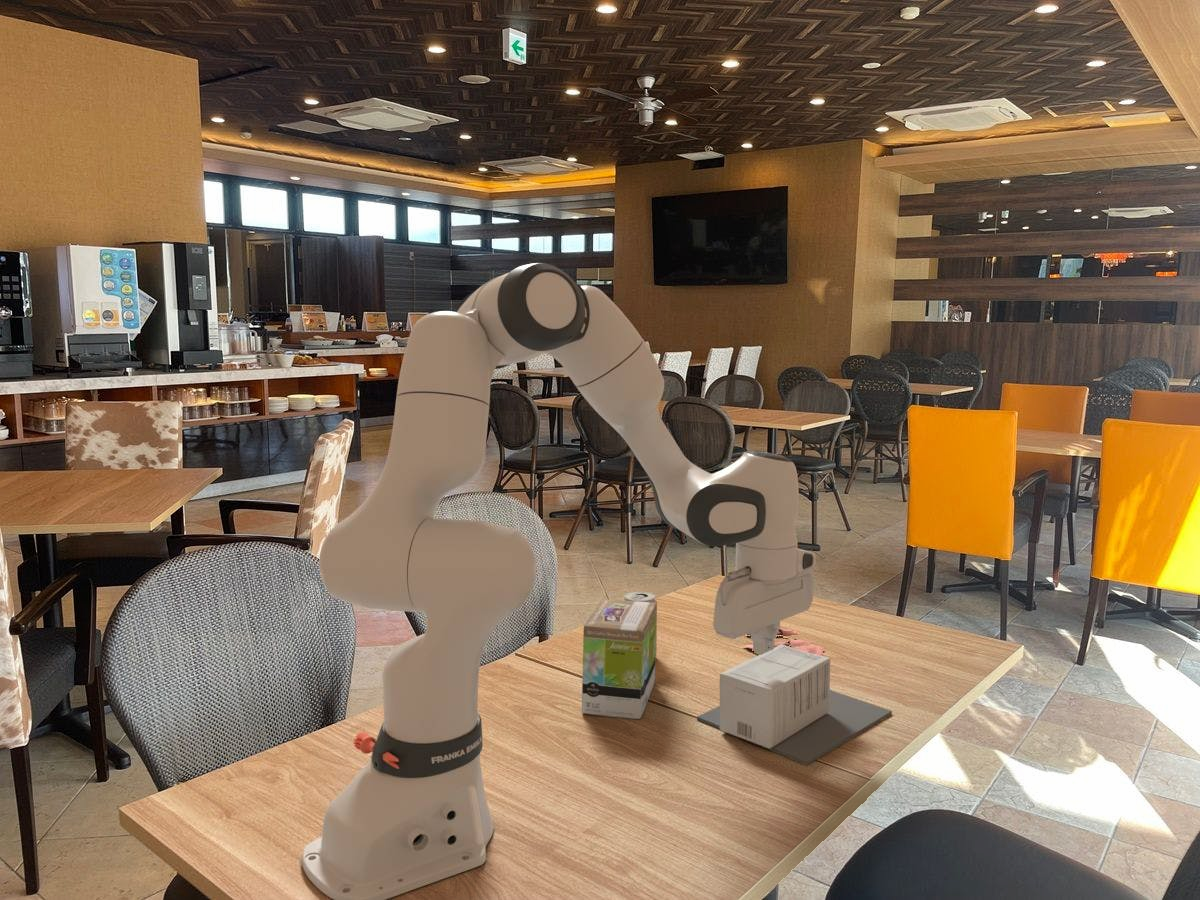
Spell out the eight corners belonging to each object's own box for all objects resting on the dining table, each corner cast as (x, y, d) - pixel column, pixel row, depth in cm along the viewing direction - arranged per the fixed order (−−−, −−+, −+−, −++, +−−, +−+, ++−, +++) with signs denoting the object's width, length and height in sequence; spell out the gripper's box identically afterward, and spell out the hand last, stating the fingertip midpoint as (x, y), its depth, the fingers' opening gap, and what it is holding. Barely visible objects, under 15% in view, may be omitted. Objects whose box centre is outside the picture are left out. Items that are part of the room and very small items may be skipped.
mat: (806, 765, 125) (806, 762, 125) (696, 719, 139) (697, 716, 139) (891, 713, 141) (891, 710, 141) (785, 677, 156) (785, 674, 155)
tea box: (643, 721, 139) (644, 630, 137) (580, 715, 141) (580, 625, 139) (656, 683, 153) (657, 600, 151) (599, 678, 155) (599, 596, 153)
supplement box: (770, 751, 128) (832, 713, 140) (772, 690, 127) (833, 657, 138) (717, 730, 135) (780, 696, 146) (718, 671, 133) (781, 642, 145)
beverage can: (662, 656, 165) (663, 593, 164) (645, 667, 160) (646, 603, 158) (632, 649, 169) (633, 588, 167) (615, 660, 163) (615, 597, 162)
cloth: (837, 664, 164) (838, 651, 163) (718, 663, 164) (718, 650, 164) (813, 626, 184) (813, 615, 183) (707, 625, 184) (707, 614, 184)
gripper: (739, 579, 121) (737, 676, 123) (822, 552, 135) (819, 640, 137) (703, 570, 125) (702, 664, 127) (787, 545, 139) (784, 630, 141)
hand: (763, 651), depth 132 cm, fingers closed
